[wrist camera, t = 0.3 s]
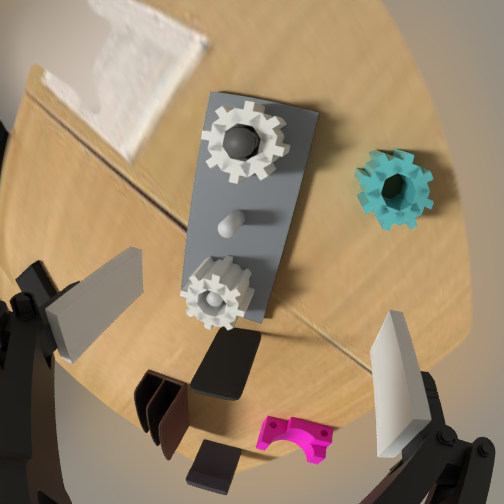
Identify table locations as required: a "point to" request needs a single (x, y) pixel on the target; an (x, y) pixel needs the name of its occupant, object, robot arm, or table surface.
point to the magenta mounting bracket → (297, 436)
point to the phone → (227, 364)
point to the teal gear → (411, 193)
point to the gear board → (242, 205)
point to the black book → (36, 283)
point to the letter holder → (162, 410)
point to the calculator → (214, 467)
